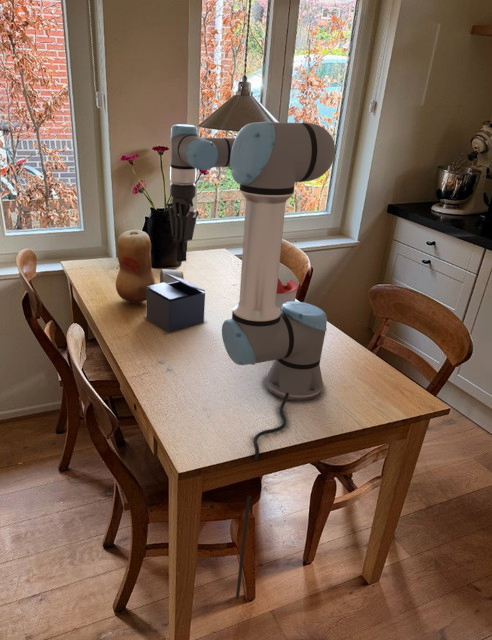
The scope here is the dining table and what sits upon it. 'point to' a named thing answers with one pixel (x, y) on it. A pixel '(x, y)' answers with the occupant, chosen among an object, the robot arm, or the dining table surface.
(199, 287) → the flap
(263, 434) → the robot arm
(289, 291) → the citrus juicer
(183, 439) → the dining table surface
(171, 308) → the carton
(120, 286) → the butternut squash
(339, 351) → the dining table surface
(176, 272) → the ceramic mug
